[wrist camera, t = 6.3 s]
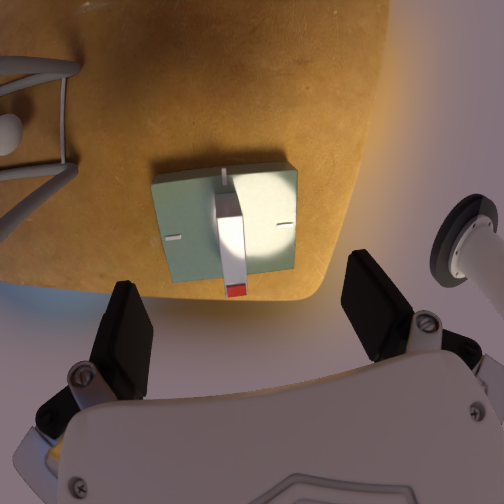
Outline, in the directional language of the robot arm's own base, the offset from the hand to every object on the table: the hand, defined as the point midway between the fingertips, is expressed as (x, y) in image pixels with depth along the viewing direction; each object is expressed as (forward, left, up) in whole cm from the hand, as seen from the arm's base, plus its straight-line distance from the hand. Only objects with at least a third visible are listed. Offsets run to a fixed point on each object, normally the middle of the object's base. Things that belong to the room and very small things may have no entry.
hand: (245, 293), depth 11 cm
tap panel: (0, +3, -15) cm, 16 cm away
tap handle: (0, +3, -12) cm, 13 cm away
